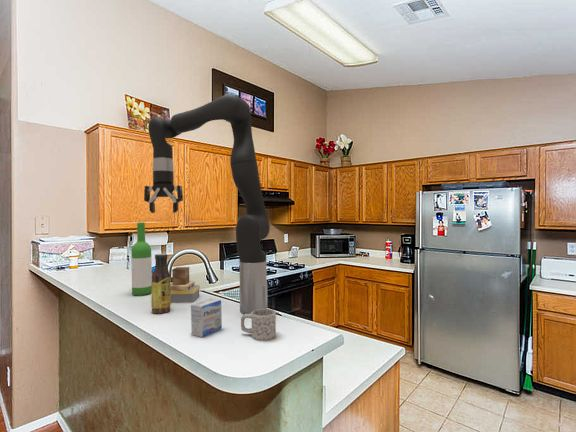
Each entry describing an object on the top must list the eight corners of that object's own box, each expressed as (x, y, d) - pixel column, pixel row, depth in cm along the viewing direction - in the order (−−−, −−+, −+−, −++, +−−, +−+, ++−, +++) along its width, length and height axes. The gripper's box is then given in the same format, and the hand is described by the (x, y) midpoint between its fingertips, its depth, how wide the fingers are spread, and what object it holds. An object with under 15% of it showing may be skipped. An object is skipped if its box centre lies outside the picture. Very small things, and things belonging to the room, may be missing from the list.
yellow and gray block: (199, 296, 139) (199, 285, 139) (193, 302, 129) (193, 290, 129) (170, 296, 139) (169, 285, 139) (161, 302, 130) (161, 290, 130)
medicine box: (202, 338, 93) (201, 306, 93) (190, 334, 96) (190, 304, 96) (222, 329, 100) (221, 299, 100) (211, 326, 102) (210, 297, 102)
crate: (189, 282, 137) (189, 267, 137) (185, 284, 132) (185, 269, 131) (176, 282, 137) (176, 267, 137) (172, 285, 132) (172, 269, 132)
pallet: (194, 284, 139) (194, 280, 139) (187, 290, 129) (186, 286, 129) (175, 285, 139) (175, 280, 139) (166, 290, 129) (165, 286, 129)
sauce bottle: (164, 314, 114) (163, 255, 114) (147, 313, 116) (146, 255, 115) (174, 309, 121) (173, 253, 120) (158, 308, 122) (157, 252, 122)
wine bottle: (152, 291, 149) (151, 222, 148) (151, 295, 141) (150, 222, 141) (133, 292, 146) (131, 222, 146) (130, 296, 139) (129, 223, 138)
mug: (278, 332, 97) (278, 309, 97) (272, 341, 90) (271, 316, 90) (245, 330, 99) (244, 307, 99) (236, 338, 93) (236, 314, 92)
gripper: (184, 171, 135) (185, 212, 135) (149, 172, 135) (149, 212, 136) (178, 169, 128) (178, 212, 128) (140, 169, 128) (141, 213, 128)
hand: (163, 212), depth 132 cm, fingers open, 8 cm apart
